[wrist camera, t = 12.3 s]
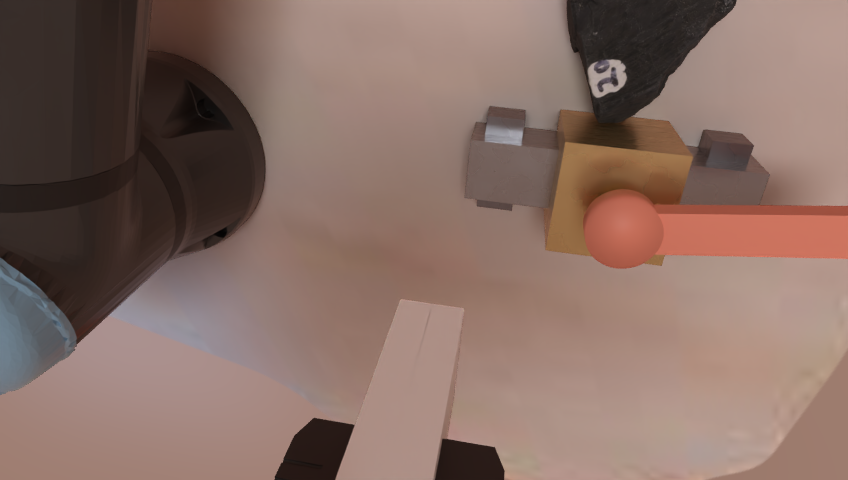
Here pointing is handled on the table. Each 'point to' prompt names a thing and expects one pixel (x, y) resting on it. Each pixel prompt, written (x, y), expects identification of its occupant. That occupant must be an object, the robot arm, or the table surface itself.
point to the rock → (636, 47)
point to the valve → (603, 168)
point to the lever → (709, 230)
